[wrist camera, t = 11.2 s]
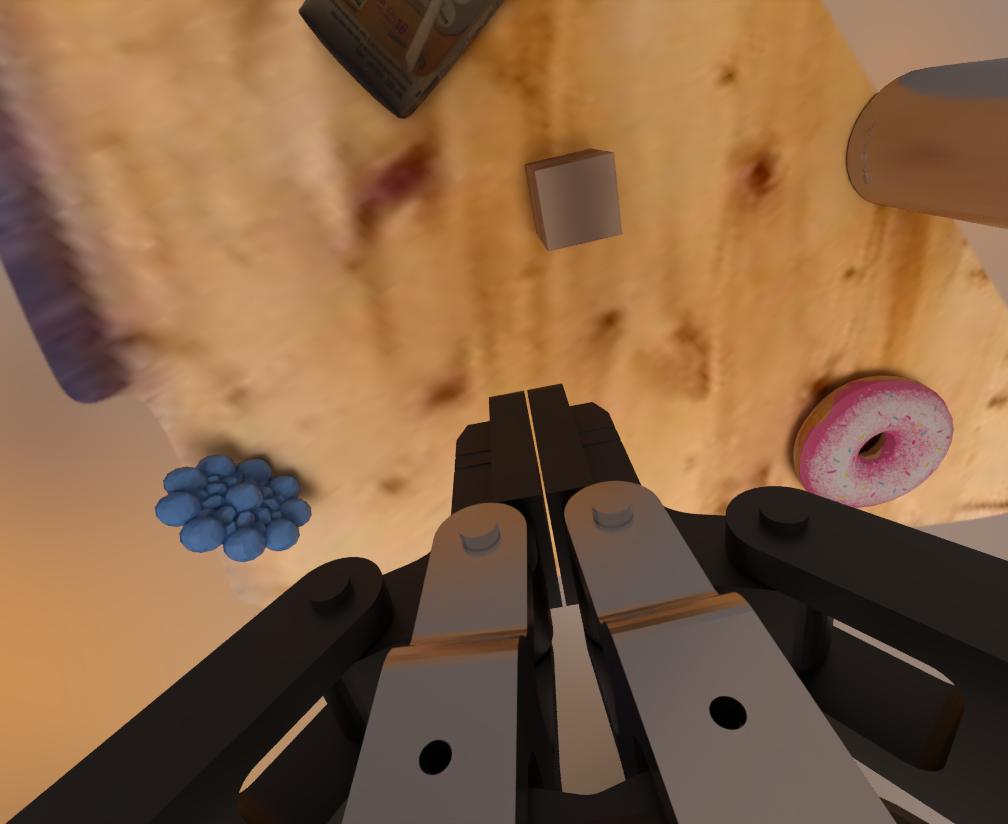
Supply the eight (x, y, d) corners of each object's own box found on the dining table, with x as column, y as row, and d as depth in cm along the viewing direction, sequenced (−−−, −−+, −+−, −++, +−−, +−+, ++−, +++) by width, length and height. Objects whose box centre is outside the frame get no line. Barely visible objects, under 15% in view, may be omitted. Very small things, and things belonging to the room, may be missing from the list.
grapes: (183, 467, 50) (106, 559, 40) (213, 414, 48) (140, 496, 37) (299, 523, 54) (257, 620, 43) (332, 476, 52) (297, 566, 41)
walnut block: (591, 148, 40) (613, 152, 34) (599, 218, 42) (622, 234, 36) (524, 164, 40) (534, 171, 34) (536, 233, 42) (548, 251, 36)
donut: (948, 370, 50) (994, 393, 46) (891, 488, 56) (927, 519, 52) (810, 363, 49) (844, 387, 45) (767, 485, 55) (793, 516, 51)
